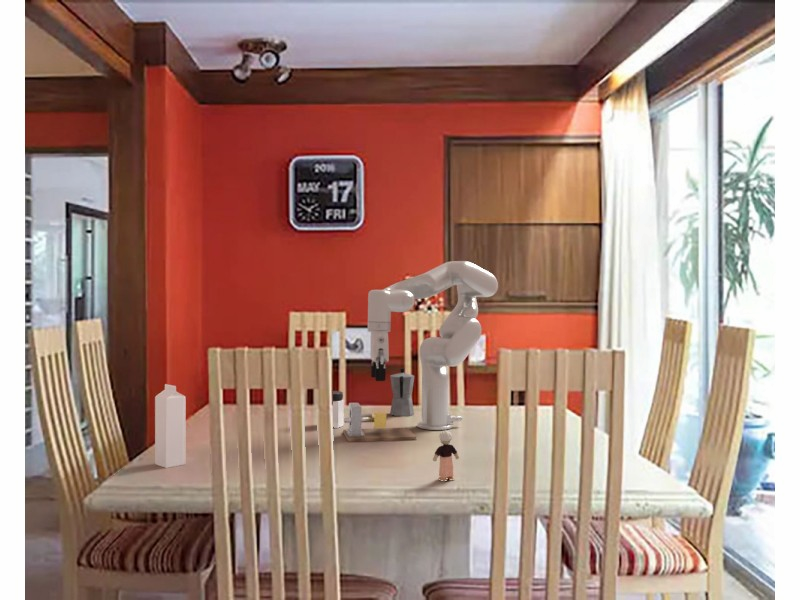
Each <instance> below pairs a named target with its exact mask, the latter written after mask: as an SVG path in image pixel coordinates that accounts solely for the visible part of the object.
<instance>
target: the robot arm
mask: <svg viewBox="0 0 800 600" xmlns="http://www.w3.org/2000/svg"><path fill="white" fill-rule="evenodd" d="M454 286H456V291H457V292H456V293H457V304H456V305H455V307H453V309H452V310H451V312H450V313H449V314H448V316H447V317H446V318H445V319H444V321H442V323H441V325H440V327H439V331H438V332H439V337H437V336H432V337H428V338H425V339H424V340H423V341H422V342H421V344H420V346H419V357H420V358H419V359H420V365H421V421H418V422H417V424H416V427H417V428H419V429H422V430H427V431H428V430H429V431H442V430H443V431H447V430H450V429H453V427H454V424H453V423H454V422H456V423H457V422H459V423H461V422H462V421H463V416H462V415H452V414H451V413H450V376H449V375H450V374H449V370H448V368H447V367H457V366H459V365H461V364H462V363H463V362H464V361H465V360H466V358H467V357H468V355H470V353H471V352H472V350H473V349H475V347H476V345H477V344H478V343H479V341H480V338H481V335H482V325H481V323H480V321H479V320H478V319H477V317H478V314H479V305H478V301H477V298H489V297H492V296H494V295H495V294H496V293H497V292H498V289H499V283H498V280H497V278H496V276H495V275H494V274H493V273H491V272H489V270H486V269H483V268H482V267H480V266H479V265H477V264H474V263H473V262H470V261H467V260H457V261H456V260H455V261H452V260H451V261H446V262H444V263H442V264H440V265H438V266H436V267H434V268H432V269H429V270H428V271H426V272H424V273H421V274H419V275H415V276H413V277H412V276H411V277H409V278H407V279H403V280H401V281H398V282H396V283H394V284H391V285H389V286H387V287H385V288H384V289H371V290H370V291H368V295H367V296H368V297H367V301H368V302H367V332H368V333H369V332H370V359H371V366H370V367H371V369H370V370H371V371H370V377H371V378H375V381H376V382H385V381H386V373H387V372H386V370H387V369H386V363H388V362H389V361H390V360H389V359H390V357H389V356H390V355H389V354H390V353H389V351H390V350H389V349H390V348H389V333H390V332H391V321H392V320H391V319H392V314H391V313H392V312H395V313H407V312H409V311H410V310H411V309H412V308H413V307H414V305H415V300H420V299H428V298H431V297H434V296H436V295H438V294H440V293H442V292H443V291H445V290H448V289H449V288H452V287H454Z"/></svg>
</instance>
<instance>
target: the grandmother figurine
mask: <svg viewBox="0 0 800 600" xmlns="http://www.w3.org/2000/svg"><path fill="white" fill-rule="evenodd" d="M438 436H439V441H440V443H441V445H440V446H438V447H437V448H436V450H435V452H434V455H433V457H432V461H433V462H436V461H438V458H439V469H438V476H439V477H438V479H440V480H443V481H445V480H448V479H454V480H455V477H454V462H453V456H454V458H455V459H456V460H459V458H460V456H459V454H458V451H457V449H456V448H455V446H454V445H453V444H450V443H451V441H452V440H453V439H452V438H453V436H452V433H451V432H450V431H449V430H443V431H441V432H440V433H439V435H438ZM452 455H453V456H452ZM446 478H448V479H446Z"/></svg>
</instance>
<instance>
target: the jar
mask: <svg viewBox="0 0 800 600" xmlns="http://www.w3.org/2000/svg"><path fill="white" fill-rule="evenodd" d="M332 391H333V423H334V428H333V429H339V427H340V428H342V427H343V426H344V425H345V422H344V421H343V420H344V418H345V415H344V414H345V411H344V410H345V405H344V404H345V400H344V395H343V394H344V392H343V391H339V390H332Z"/></svg>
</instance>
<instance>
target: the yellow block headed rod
mask: <svg viewBox="0 0 800 600" xmlns="http://www.w3.org/2000/svg"><path fill="white" fill-rule="evenodd" d="M343 421H344V424H349V423H351V418H349V417H344V420H343ZM361 423H371V426H372V428H373V429H380V428H387V412H386V411H384V410H372V411H371V417H370V416H369V417H367V416H366V417H365V416H364V417H361Z"/></svg>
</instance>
